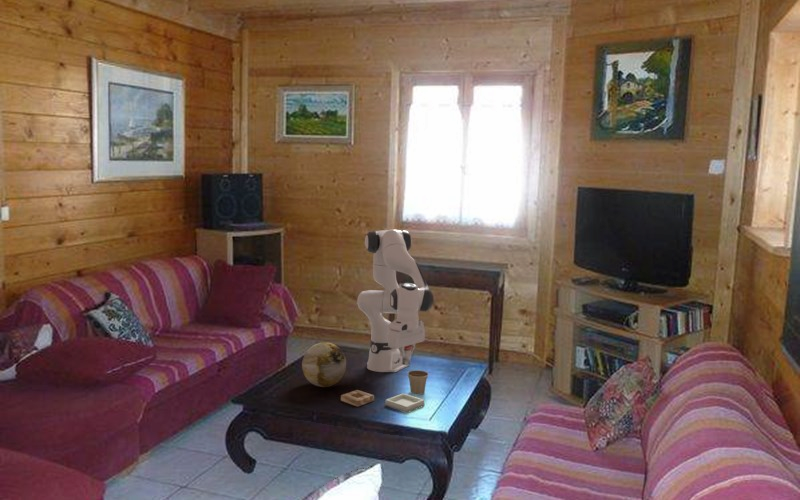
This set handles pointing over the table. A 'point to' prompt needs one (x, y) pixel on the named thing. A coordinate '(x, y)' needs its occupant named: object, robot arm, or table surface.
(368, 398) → the block
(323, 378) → the decorative sphere
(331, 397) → the table surface
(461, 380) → the table surface
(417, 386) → the flower pot
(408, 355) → the pin
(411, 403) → the tray
